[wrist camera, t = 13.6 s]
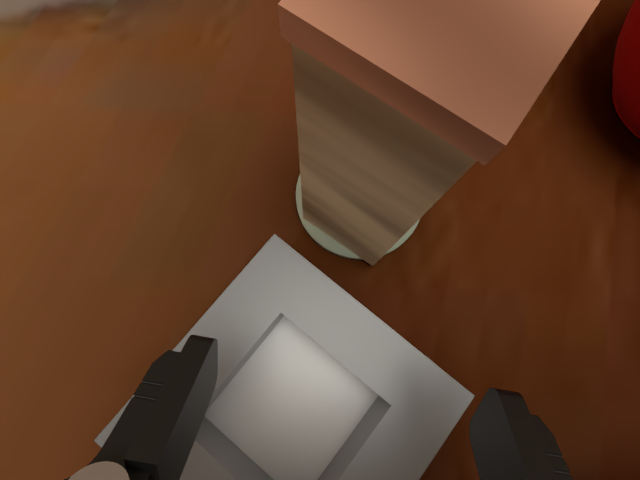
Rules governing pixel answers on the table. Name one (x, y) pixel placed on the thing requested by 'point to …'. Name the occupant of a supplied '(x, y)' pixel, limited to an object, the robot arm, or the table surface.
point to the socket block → (313, 384)
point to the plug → (411, 100)
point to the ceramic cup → (628, 71)
